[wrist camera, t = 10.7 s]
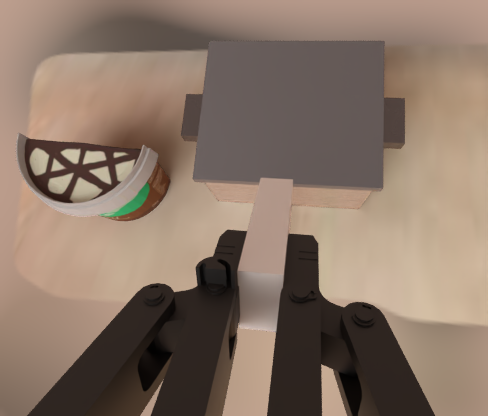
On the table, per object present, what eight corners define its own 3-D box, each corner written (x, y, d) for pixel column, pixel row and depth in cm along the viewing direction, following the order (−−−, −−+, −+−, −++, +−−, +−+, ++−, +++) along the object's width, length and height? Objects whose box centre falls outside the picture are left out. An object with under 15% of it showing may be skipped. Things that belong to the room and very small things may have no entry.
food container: (62, 224, 41) (-8, 202, 32) (75, 169, 43) (12, 132, 33) (173, 239, 39) (134, 220, 30) (183, 181, 41) (150, 145, 31)
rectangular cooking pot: (385, 97, 40) (407, 49, 32) (384, 210, 38) (408, 187, 30) (207, 94, 43) (189, 48, 35) (195, 199, 40) (172, 175, 32)
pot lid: (382, 47, 32) (384, 40, 32) (380, 191, 30) (382, 188, 29) (211, 46, 34) (209, 41, 34) (195, 181, 32) (192, 178, 31)
